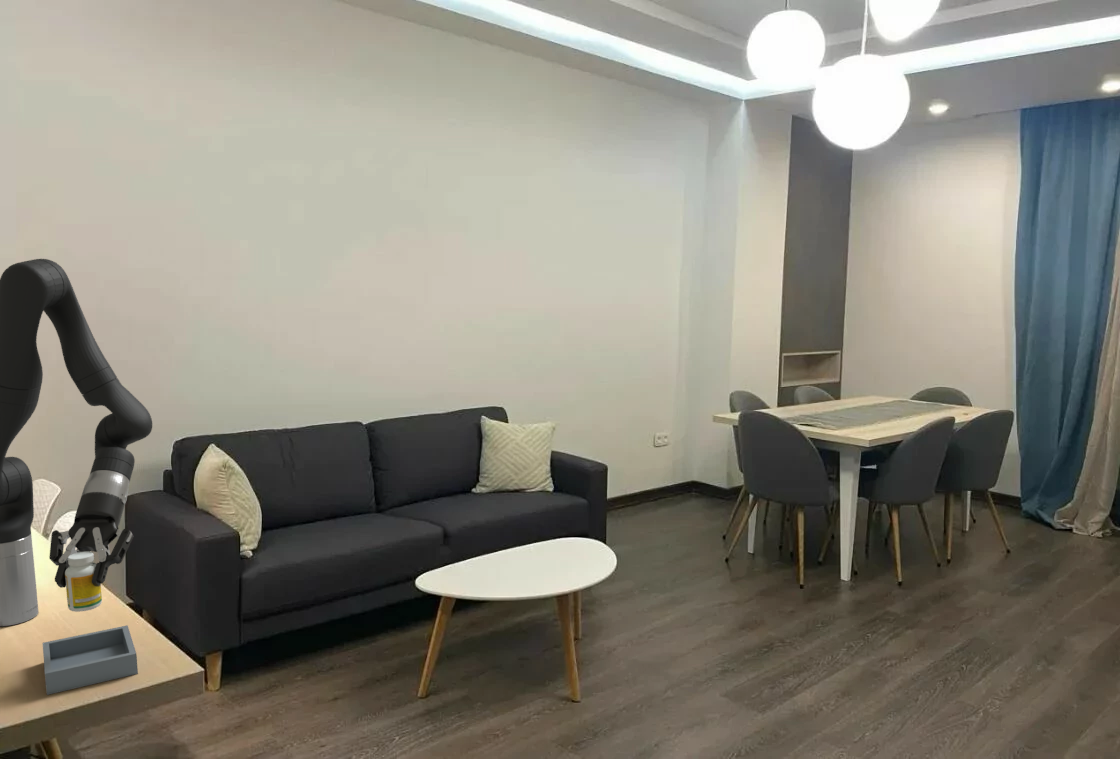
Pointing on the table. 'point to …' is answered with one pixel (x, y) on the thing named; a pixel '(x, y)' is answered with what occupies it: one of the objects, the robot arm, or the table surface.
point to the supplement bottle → (82, 582)
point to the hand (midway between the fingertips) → (78, 584)
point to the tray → (89, 659)
